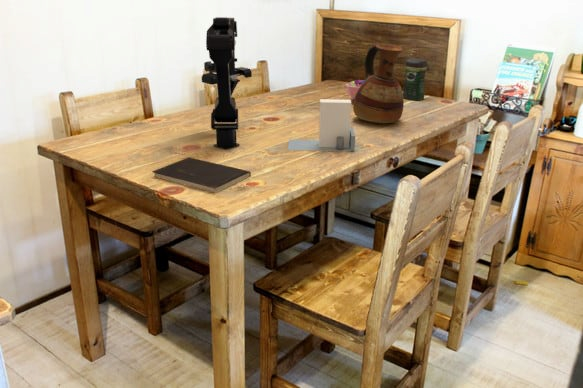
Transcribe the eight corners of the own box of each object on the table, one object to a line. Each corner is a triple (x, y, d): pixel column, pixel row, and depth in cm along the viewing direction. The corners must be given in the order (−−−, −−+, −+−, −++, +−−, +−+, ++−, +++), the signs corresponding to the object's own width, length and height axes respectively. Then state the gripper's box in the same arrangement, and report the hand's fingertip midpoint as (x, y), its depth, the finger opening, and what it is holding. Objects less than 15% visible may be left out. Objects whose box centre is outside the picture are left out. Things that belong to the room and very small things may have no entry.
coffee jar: (426, 99, 259) (430, 58, 252) (417, 101, 253) (421, 60, 247) (409, 95, 265) (412, 56, 258) (399, 98, 260) (403, 58, 253)
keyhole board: (287, 152, 179) (287, 134, 177) (289, 142, 191) (289, 125, 188) (355, 154, 179) (356, 136, 177) (352, 143, 190) (353, 126, 188)
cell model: (338, 99, 257) (340, 74, 253) (377, 96, 262) (379, 73, 258) (353, 107, 242) (354, 81, 238) (394, 104, 247) (396, 79, 243)
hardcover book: (215, 195, 146) (215, 187, 145) (153, 178, 157) (152, 171, 157) (250, 178, 159) (250, 170, 158) (190, 163, 170) (190, 156, 169)
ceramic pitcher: (379, 130, 207) (385, 48, 196) (341, 119, 221) (345, 42, 210) (412, 122, 218) (419, 44, 207) (375, 112, 233) (379, 39, 221)
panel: (318, 146, 182) (320, 102, 177) (318, 143, 186) (320, 99, 181) (349, 147, 182) (351, 102, 176) (348, 143, 186) (350, 99, 181)
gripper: (231, 49, 202) (233, 91, 208) (190, 55, 189) (193, 100, 196) (252, 53, 195) (253, 96, 201) (210, 60, 182) (213, 106, 189)
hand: (228, 99), depth 197 cm, fingers closed
